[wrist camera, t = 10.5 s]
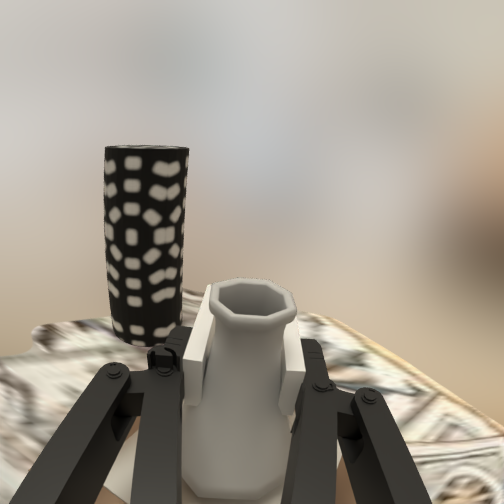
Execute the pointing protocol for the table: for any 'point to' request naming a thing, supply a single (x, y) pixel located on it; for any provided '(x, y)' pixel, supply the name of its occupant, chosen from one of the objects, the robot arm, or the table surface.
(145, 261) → the white-spotted black cylinder
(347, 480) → the walnut plinth
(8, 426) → the table surface
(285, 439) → the flask
